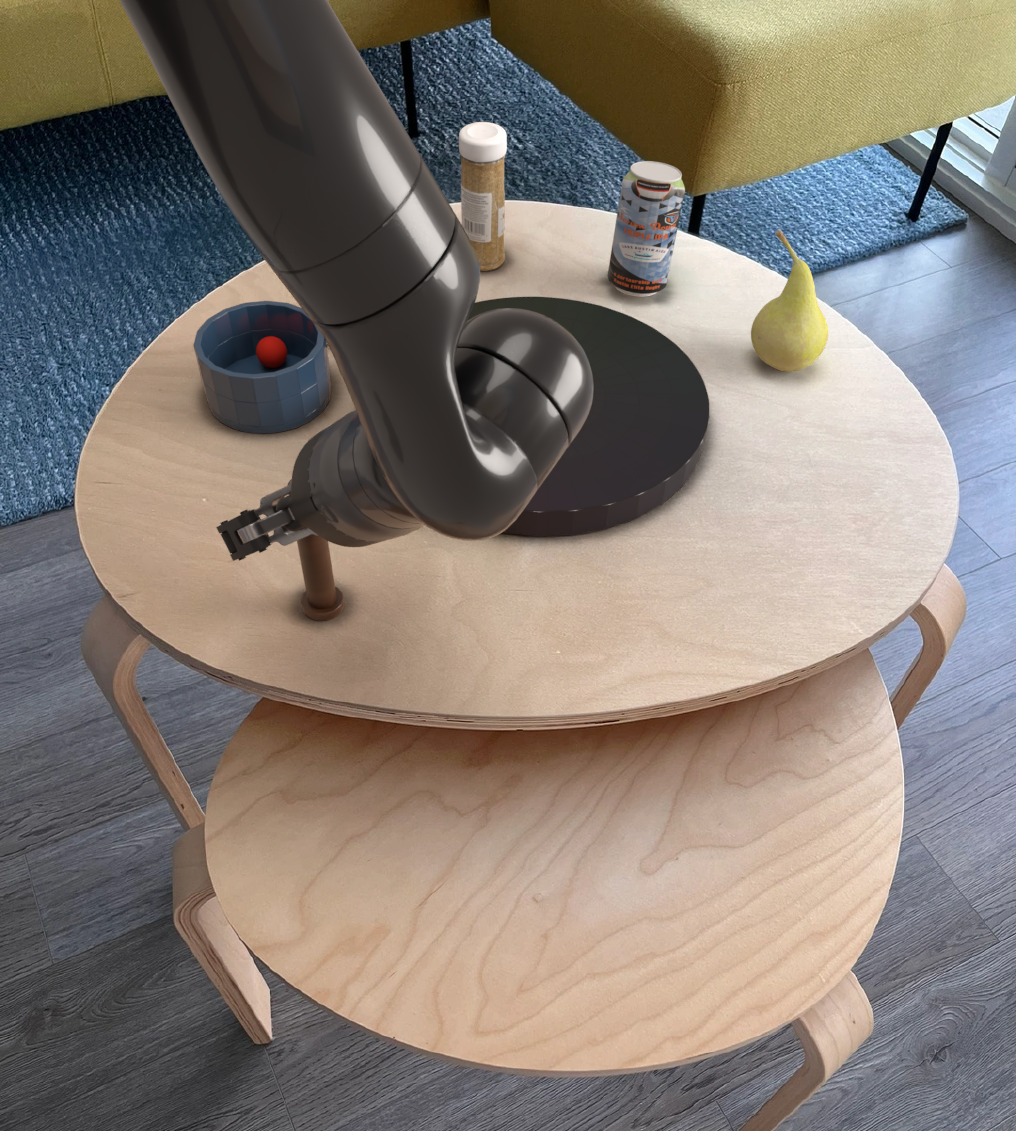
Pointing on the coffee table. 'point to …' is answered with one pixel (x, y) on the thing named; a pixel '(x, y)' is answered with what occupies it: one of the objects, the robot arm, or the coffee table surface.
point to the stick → (318, 579)
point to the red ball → (271, 352)
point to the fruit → (791, 322)
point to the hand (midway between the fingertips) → (300, 509)
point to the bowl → (263, 367)
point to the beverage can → (646, 228)
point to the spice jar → (483, 190)
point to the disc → (617, 422)
